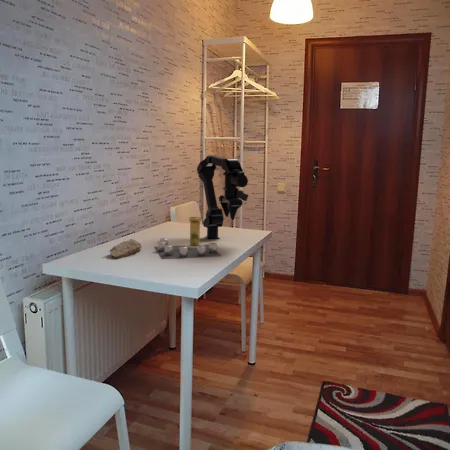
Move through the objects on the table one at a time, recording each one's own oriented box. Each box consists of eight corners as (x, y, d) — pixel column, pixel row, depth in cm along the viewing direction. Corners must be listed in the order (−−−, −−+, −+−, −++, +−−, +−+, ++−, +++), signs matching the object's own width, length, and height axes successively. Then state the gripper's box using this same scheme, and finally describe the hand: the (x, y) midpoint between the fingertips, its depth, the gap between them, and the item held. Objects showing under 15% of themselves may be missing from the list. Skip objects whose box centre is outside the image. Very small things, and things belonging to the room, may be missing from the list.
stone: (131, 237, 204) (147, 232, 198) (136, 250, 205) (152, 246, 199) (98, 251, 186) (114, 246, 181) (103, 265, 187) (119, 261, 182)
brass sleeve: (187, 244, 208) (188, 217, 206) (199, 243, 210) (199, 216, 208) (190, 246, 203) (190, 218, 201) (201, 246, 205) (202, 218, 203)
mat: (153, 247, 205) (153, 246, 205) (208, 245, 212) (208, 244, 212) (161, 260, 182) (161, 259, 182) (222, 257, 190) (222, 256, 190)
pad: (183, 244, 210) (183, 243, 209) (201, 244, 212) (201, 242, 212) (187, 249, 201) (187, 247, 201) (206, 248, 204) (206, 247, 204)
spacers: (162, 246, 206) (162, 237, 205) (218, 252, 197) (218, 243, 196) (145, 253, 192) (145, 244, 191) (204, 260, 182) (204, 250, 182)
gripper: (253, 187, 202) (252, 221, 205) (240, 183, 220) (239, 215, 222) (230, 187, 199) (229, 221, 202) (218, 183, 217) (218, 215, 219)
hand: (229, 218), depth 211 cm, fingers open, 9 cm apart
